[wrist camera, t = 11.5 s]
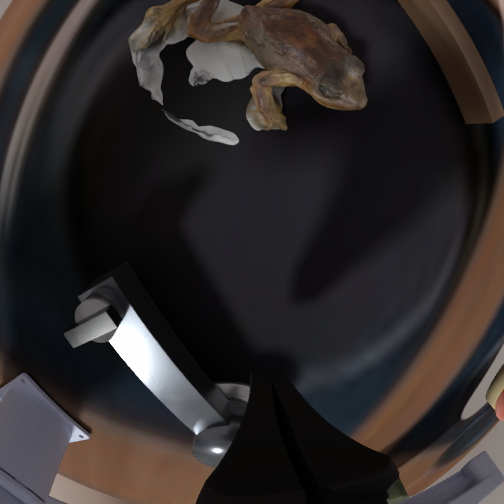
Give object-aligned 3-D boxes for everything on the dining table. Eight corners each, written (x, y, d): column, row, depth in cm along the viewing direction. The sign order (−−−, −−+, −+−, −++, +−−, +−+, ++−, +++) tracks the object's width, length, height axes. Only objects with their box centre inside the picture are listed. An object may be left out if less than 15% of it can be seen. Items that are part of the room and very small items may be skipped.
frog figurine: (403, 65, 11) (443, 47, 8) (262, 204, 13) (275, 218, 10) (259, -50, 8) (267, -88, 5) (101, 66, 10) (67, 42, 7)
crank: (272, 426, 16) (280, 474, 12) (216, 443, 16) (216, 488, 13) (146, 249, 12) (113, 285, 8) (82, 287, 12) (42, 327, 8)
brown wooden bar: (465, 124, 12) (492, 122, 10) (334, -65, 7) (345, -84, 5) (479, 116, 12) (504, 114, 9) (355, -65, 7) (367, -82, 5)
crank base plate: (216, 444, 18) (216, 448, 17) (161, 400, 16) (160, 404, 15) (290, 417, 17) (291, 421, 17) (243, 365, 15) (244, 370, 15)
